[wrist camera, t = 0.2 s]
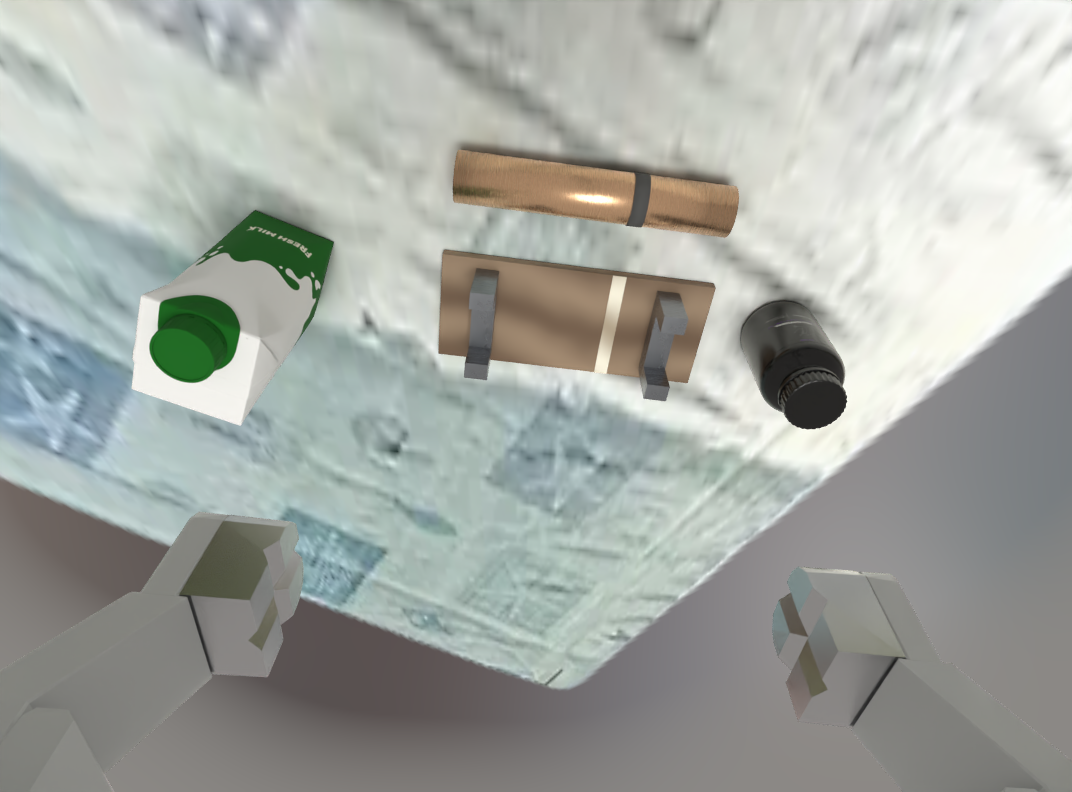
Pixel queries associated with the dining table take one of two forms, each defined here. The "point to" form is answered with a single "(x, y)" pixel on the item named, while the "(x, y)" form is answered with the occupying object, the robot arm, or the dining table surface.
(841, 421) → the dining table surface
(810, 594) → the robot arm
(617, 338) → the cradle board
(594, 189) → the copper tube
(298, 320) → the milk carton
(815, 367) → the supplement bottle
